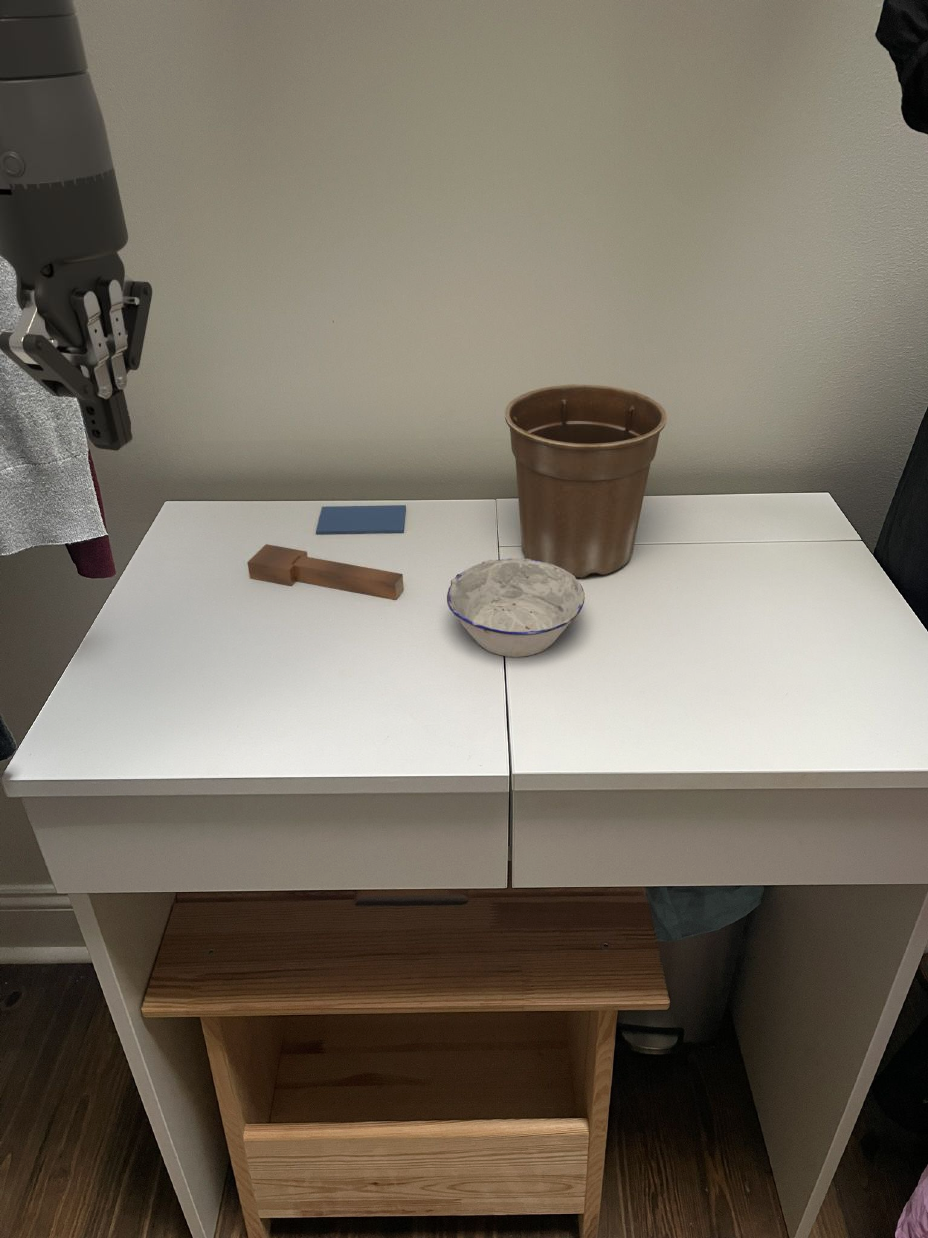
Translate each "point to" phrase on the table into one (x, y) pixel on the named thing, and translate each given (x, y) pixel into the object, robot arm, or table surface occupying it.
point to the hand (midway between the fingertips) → (113, 445)
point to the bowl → (515, 604)
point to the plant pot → (582, 472)
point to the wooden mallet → (322, 572)
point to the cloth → (361, 519)
